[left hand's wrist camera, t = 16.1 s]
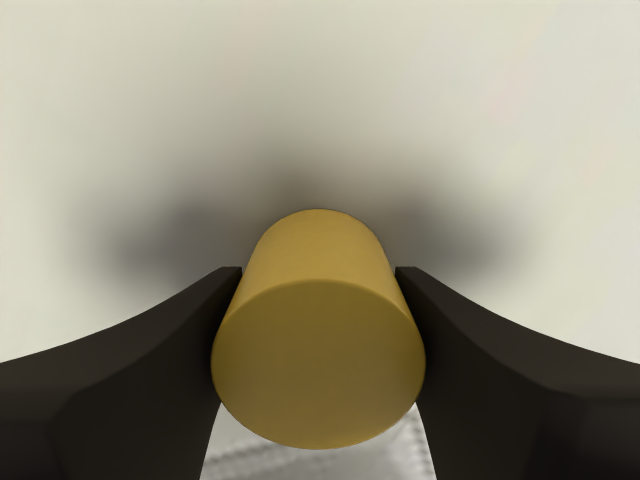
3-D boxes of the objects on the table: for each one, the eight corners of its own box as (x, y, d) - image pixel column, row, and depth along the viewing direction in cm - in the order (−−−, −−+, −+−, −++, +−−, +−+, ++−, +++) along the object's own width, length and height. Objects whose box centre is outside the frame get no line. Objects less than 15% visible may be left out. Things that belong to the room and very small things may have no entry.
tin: (400, 309, 13) (446, 424, 8) (280, 343, 13) (259, 469, 9) (365, 189, 11) (397, 248, 6) (228, 233, 12) (169, 318, 7)
